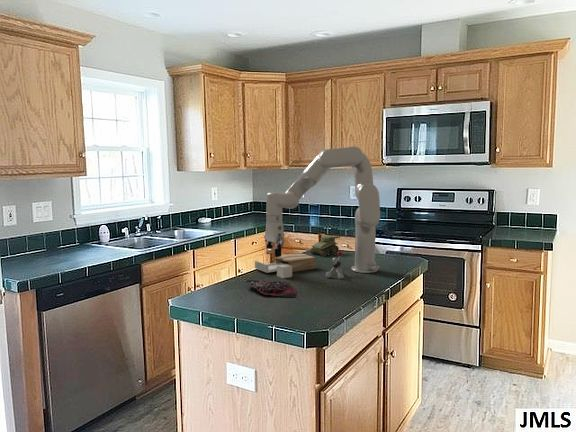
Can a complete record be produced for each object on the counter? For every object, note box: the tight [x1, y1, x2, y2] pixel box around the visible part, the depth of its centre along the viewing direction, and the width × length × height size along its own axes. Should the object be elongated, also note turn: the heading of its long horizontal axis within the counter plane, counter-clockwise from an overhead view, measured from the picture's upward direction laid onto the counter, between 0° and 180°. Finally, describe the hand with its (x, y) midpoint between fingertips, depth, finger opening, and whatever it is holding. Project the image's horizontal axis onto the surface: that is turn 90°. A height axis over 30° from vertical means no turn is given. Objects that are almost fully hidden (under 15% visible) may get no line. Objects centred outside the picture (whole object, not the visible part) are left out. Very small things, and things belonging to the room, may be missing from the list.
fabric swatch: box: [245, 279, 297, 298], centre depth 199 cm, size 20×21×3 cm
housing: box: [274, 252, 317, 273], centre depth 239 cm, size 14×15×5 cm
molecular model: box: [325, 250, 344, 280], centre depth 223 cm, size 8×12×11 cm
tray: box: [254, 260, 284, 274], centre depth 232 cm, size 11×14×4 cm
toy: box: [310, 235, 341, 257], centre depth 273 cm, size 10×18×10 cm, turn 131°
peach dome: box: [265, 246, 276, 255], centre depth 231 cm, size 7×7×2 cm
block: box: [276, 264, 293, 279], centre depth 221 cm, size 5×5×5 cm
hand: (273, 254), depth 232 cm, fingers closed on peach dome, 7 cm apart
